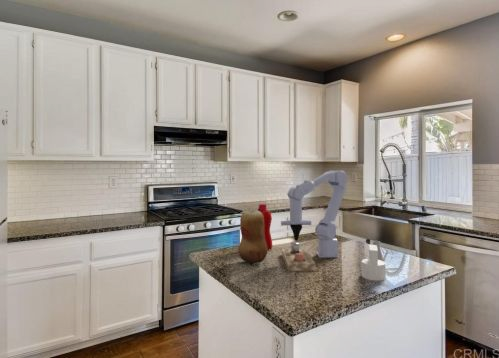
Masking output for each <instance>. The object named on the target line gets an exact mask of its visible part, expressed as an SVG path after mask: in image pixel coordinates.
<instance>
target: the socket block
mask: <svg viewBox="0 0 499 358" xmlns="http://www.w3.org/2000/svg"><path fill="white" fill-rule="evenodd" d="M299 253H302V254H304V261H295V254H296V253H292V252H291V248H285V249H284V248H282V249H281V257H282V259H283V261H285V262H284V264H285V267H286V269H287V271H288V272H297V271H298V272H299V271H303V272H304V271H305V272H308V271H316V262H315V261H314V260H313V258H312V257H311V255H310V254H309V252H308V251H307V249H306V248H299Z"/></svg>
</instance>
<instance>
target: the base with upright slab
mask: <svg viewBox="0 0 499 358" xmlns="http://www.w3.org/2000/svg"><path fill="white" fill-rule="evenodd" d="M361 277H362V278H364V279H366V280H370V281H378V282H379V281H383V280H385V279H386V262H383V261H381V260H378V249H377V245H374V244H368V258H363V259H362V260H361Z"/></svg>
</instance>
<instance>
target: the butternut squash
mask: <svg viewBox="0 0 499 358" xmlns="http://www.w3.org/2000/svg"><path fill="white" fill-rule="evenodd" d="M239 221H240V223H239V225H240V226H239V227H240V233H241V239H240V242H239V246H238V256H239V257H240V259H241V260H242V261H244V262H246V263H247V264H250V265H255V263H256V264H258V263H259V264H260V263H262V262H263V261H264V260H265V259H266V257H267V254H268V251H269V250H268V248H267V244H266V241H265V233H264V216H263V214H262V213H261V212H260V211H257V210H256V209H255V210H248V211H245V212H244V213H242V215H240V220H239Z"/></svg>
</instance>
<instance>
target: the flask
mask: <svg viewBox="0 0 499 358" xmlns="http://www.w3.org/2000/svg"><path fill="white" fill-rule="evenodd" d="M372 242H373V243H372V244H373V245H377V249H378V260H381V261H383V262H385V259H384V256H383V254H382V250H381V246H380V244H381V241H380V240H373V241H372ZM385 263H386V262H385Z"/></svg>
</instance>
